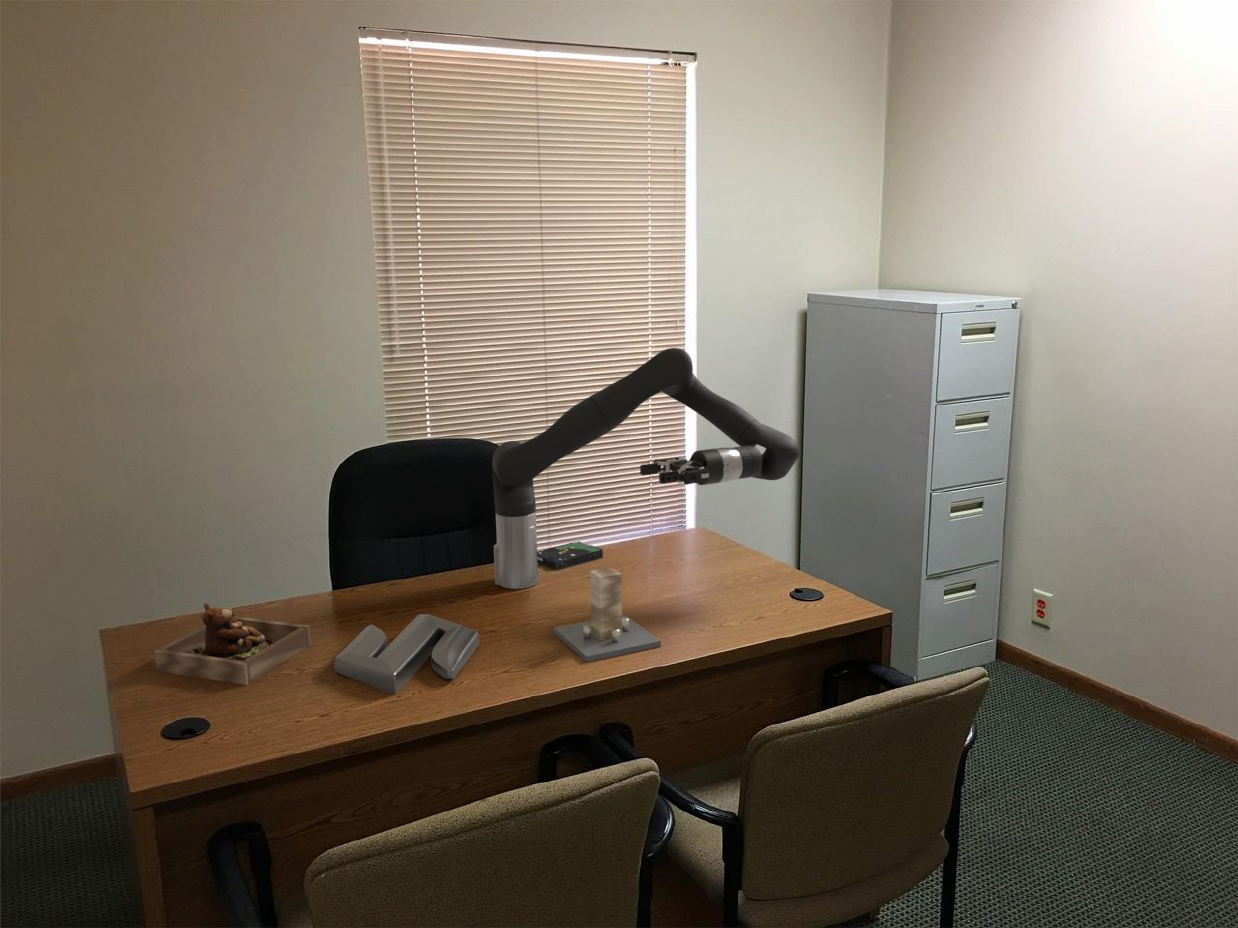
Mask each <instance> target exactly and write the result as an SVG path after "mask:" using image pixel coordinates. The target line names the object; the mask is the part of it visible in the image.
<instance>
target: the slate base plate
mask: <svg viewBox="0 0 1238 928" xmlns="http://www.w3.org/2000/svg"><path fill="white" fill-rule="evenodd" d="M553 634H554V635H555V636H556V637H558V639H560V641H562V642H563V643H564V644H565V645H566V646H567V647H569V648H570V649H571V650H572V651H573V652H575V653H576V654H577V655H578V656H579V657H580V658H582V660H584V661H585V663H591V662H595V661H599V660H604V659H610V658H614V657H618V656H623V655H628V654H632V653H638V652H641V651H647V650H651V649H655V648H660V647H662V640H661V639H659V638H658V637H656V635H654V634H652V633H651V632H650V631H648V630H647V629H645V628H644V627H643V626H641V625H639V624H638V622H636V621H634V620H633V619H631V618H630V617H629V616H628V615H626V614H623V613H622V636H620V631H619V629H618V628H613V629H612V638H610V639H605V640H600V639H599V638H598V637H597V636H595V635H594V634H593V633H592V631H591V620H589V621H588V620H587V621H583V622H579V623H572V624H568V625H567V624H566V625H561V626H558V627H554V628H553ZM646 649H647V650H646Z"/></svg>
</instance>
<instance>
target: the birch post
mask: <svg viewBox="0 0 1238 928" xmlns="http://www.w3.org/2000/svg"><path fill="white" fill-rule="evenodd" d="M589 575H590V576H589V577H590V621H591V631H592V633H593V634H594V635H595V636H597V637H598V638H599V639H600V640H605V639H610V638H612V629H613V628H618V629H619V631H620V636H622V615H623V607H622V605H623V603H622V602H623V601H622V594H623V592H622V588H623V587H622V573H621V572H619V571H617V570H616V569H615V568H613V567H612V566H611V567H605V568H600V569H592V570H590V571H589Z"/></svg>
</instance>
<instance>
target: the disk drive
mask: <svg viewBox="0 0 1238 928" xmlns="http://www.w3.org/2000/svg"><path fill="white" fill-rule="evenodd" d="M603 558H604V550H603V548H600V547H597V546H594V545H592V544H587V543H583V542H581V541H575V542H568V543H566V544H562V545H557V546H553V547H550V548H547V549H542V550H539V551H538V550H537V560H538V565H542V566H544V567H546V568H548V569H552V570H555V571H560V570H564V569H567V568H571V567H575V566H577V565H582V564H586V563H590V562H592V561H596V560H600V559H603Z"/></svg>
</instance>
